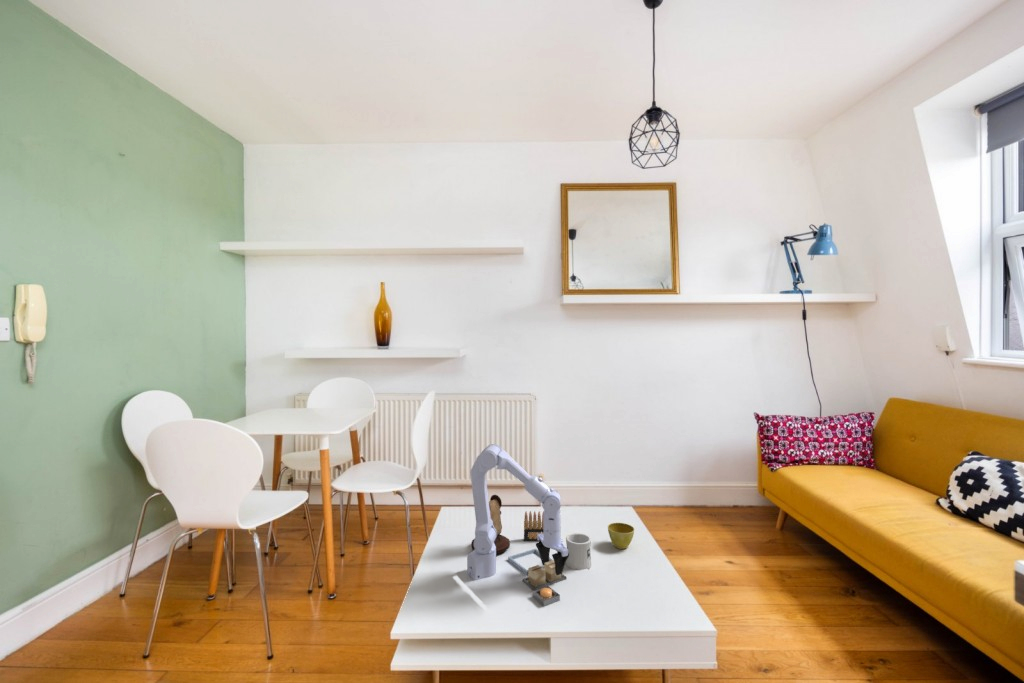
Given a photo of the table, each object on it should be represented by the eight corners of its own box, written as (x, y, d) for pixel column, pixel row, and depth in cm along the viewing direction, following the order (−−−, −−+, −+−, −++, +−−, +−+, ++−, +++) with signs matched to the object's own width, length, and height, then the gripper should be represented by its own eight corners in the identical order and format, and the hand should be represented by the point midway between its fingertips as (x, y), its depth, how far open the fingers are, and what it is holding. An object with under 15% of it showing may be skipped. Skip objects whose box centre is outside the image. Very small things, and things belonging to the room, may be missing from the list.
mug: (591, 574, 159) (591, 545, 159) (564, 571, 161) (564, 542, 160) (592, 556, 171) (592, 530, 171) (567, 554, 173) (567, 528, 173)
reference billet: (535, 587, 148) (535, 573, 148) (528, 581, 152) (528, 567, 152) (545, 583, 150) (545, 569, 150) (538, 578, 154) (538, 564, 154)
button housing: (543, 610, 138) (543, 601, 138) (532, 600, 143) (532, 591, 143) (559, 604, 141) (559, 594, 141) (548, 594, 146) (548, 585, 146)
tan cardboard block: (551, 581, 152) (551, 567, 152) (544, 576, 155) (544, 562, 155) (561, 578, 154) (561, 564, 154) (554, 572, 157) (553, 559, 157)
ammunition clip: (523, 542, 183) (523, 512, 183) (523, 540, 185) (523, 510, 185) (550, 542, 183) (550, 512, 183) (550, 540, 185) (550, 510, 185)
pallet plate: (535, 596, 145) (535, 590, 145) (519, 583, 153) (519, 577, 153) (569, 583, 153) (569, 578, 153) (553, 571, 160) (553, 566, 160)
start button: (544, 604, 139) (544, 595, 139) (537, 598, 142) (537, 589, 142) (554, 600, 141) (554, 592, 141) (547, 594, 144) (547, 586, 144)
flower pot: (632, 540, 184) (632, 522, 184) (636, 552, 174) (636, 533, 174) (606, 539, 185) (606, 522, 185) (609, 551, 175) (609, 532, 175)
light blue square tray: (526, 578, 156) (526, 571, 156) (508, 562, 166) (508, 556, 166) (555, 568, 163) (555, 562, 163) (535, 554, 173) (535, 548, 173)
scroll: (493, 562, 167) (493, 507, 167) (463, 550, 176) (463, 498, 176) (517, 547, 179) (517, 495, 179) (488, 537, 188) (488, 488, 187)
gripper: (575, 533, 150) (575, 575, 150) (548, 518, 162) (548, 557, 163) (558, 538, 146) (558, 581, 147) (532, 523, 159) (532, 562, 159)
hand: (552, 569), depth 154 cm, fingers open, 7 cm apart
